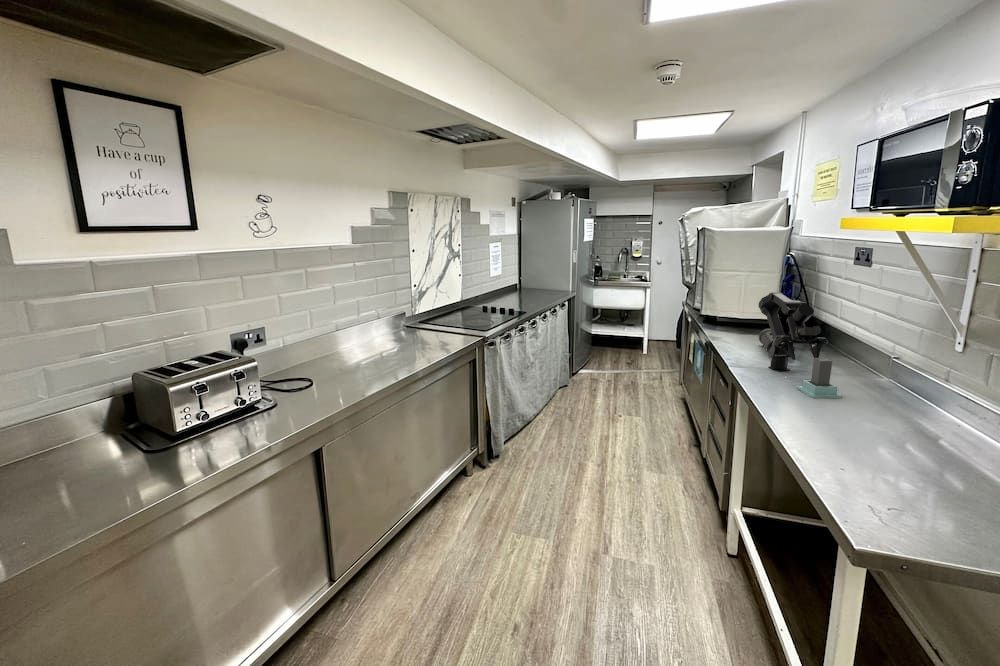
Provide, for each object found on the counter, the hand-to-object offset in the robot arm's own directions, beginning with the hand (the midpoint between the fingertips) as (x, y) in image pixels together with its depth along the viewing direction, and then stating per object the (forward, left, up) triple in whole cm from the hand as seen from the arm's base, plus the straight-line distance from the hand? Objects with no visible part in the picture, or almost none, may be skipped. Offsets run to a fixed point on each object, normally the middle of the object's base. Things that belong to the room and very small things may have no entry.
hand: (805, 360), depth 187 cm
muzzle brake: (-29, -46, -11) cm, 56 cm away
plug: (+2, +9, -10) cm, 13 cm away
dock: (+2, +9, -11) cm, 14 cm away
